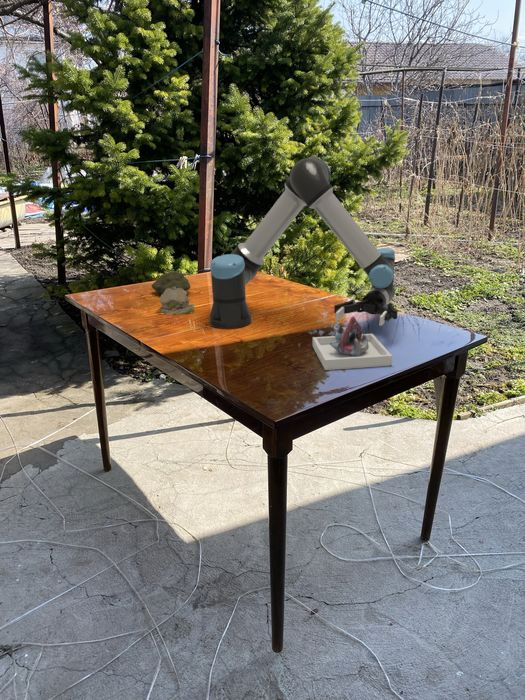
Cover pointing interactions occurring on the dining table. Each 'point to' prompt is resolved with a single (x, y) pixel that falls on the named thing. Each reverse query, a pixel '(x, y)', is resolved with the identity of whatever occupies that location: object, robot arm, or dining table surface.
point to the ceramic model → (175, 302)
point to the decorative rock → (171, 282)
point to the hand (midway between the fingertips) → (358, 319)
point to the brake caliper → (350, 339)
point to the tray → (334, 360)
